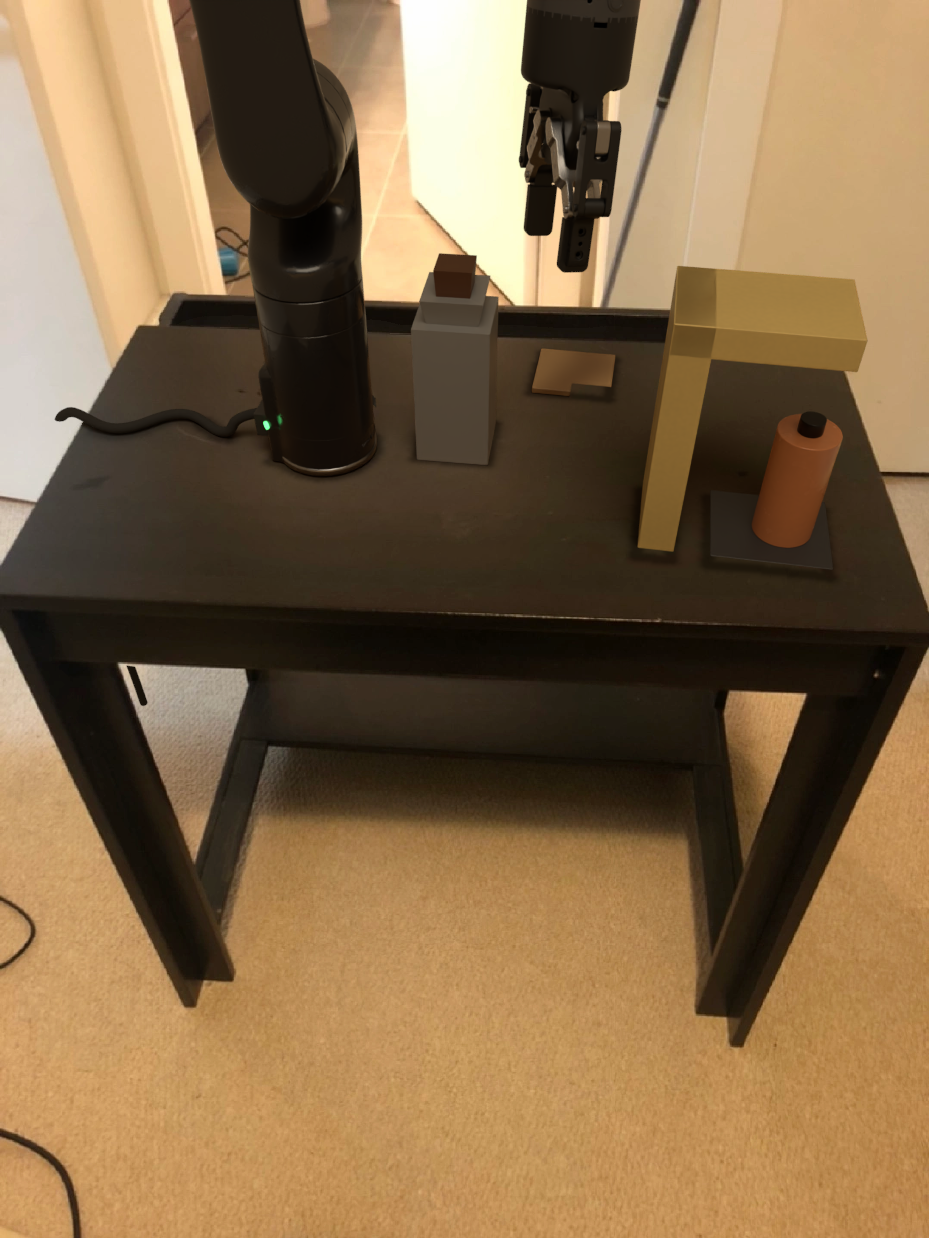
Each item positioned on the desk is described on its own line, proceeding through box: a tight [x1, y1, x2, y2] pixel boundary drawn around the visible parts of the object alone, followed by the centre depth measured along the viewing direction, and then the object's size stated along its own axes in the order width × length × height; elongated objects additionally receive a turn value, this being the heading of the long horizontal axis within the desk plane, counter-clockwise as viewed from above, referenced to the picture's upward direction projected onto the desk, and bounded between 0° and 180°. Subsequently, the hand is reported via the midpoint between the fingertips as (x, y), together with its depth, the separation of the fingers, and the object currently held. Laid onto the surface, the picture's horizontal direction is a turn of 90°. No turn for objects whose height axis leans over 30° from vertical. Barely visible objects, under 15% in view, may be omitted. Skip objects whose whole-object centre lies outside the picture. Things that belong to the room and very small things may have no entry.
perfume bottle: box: [410, 252, 499, 466], centre depth 89 cm, size 7×7×18 cm
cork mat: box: [531, 348, 616, 397], centre depth 103 cm, size 8×8×1 cm
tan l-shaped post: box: [637, 265, 868, 571], centre depth 78 cm, size 16×9×22 cm, turn 80°
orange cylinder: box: [752, 410, 844, 548], centre depth 80 cm, size 5×5×11 cm
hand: (553, 252), depth 75 cm, fingers open, 8 cm apart
